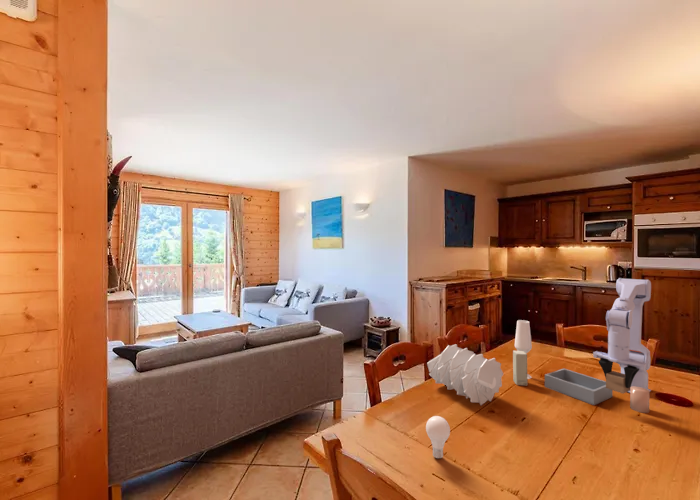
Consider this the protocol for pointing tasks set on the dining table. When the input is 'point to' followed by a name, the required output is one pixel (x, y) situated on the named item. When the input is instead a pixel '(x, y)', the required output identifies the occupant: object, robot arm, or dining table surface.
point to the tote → (578, 386)
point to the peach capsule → (639, 399)
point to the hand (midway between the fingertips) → (618, 384)
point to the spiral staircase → (467, 373)
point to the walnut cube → (616, 382)
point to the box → (520, 367)
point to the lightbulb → (437, 434)
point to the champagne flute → (523, 338)
